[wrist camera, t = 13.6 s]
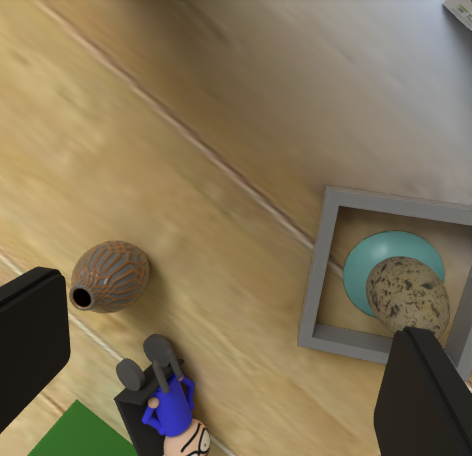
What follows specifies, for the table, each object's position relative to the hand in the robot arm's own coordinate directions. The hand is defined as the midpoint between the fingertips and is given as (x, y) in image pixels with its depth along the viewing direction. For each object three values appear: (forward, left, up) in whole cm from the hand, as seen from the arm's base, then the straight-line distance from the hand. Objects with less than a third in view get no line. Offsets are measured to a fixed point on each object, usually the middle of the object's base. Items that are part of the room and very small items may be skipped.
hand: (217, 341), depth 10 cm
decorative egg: (+6, +12, -25) cm, 28 cm away
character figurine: (+24, -9, -25) cm, 36 cm away
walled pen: (+6, +12, -25) cm, 28 cm away
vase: (+10, -15, -25) cm, 31 cm away
